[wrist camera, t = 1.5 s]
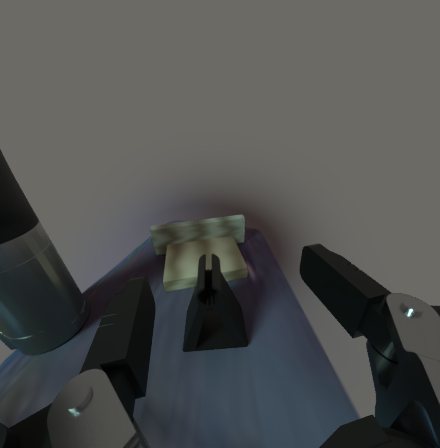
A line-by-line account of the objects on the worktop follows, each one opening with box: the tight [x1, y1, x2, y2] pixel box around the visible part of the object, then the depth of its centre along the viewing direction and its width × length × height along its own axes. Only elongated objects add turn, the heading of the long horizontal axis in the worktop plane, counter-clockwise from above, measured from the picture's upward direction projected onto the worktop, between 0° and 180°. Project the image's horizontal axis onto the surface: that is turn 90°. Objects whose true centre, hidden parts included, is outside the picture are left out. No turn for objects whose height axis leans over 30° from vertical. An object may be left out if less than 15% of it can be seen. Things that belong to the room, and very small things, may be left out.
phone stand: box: [183, 254, 248, 352], centre depth 26 cm, size 9×6×12 cm, turn 93°
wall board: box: [150, 215, 248, 292], centre depth 41 cm, size 22×14×7 cm, turn 100°
